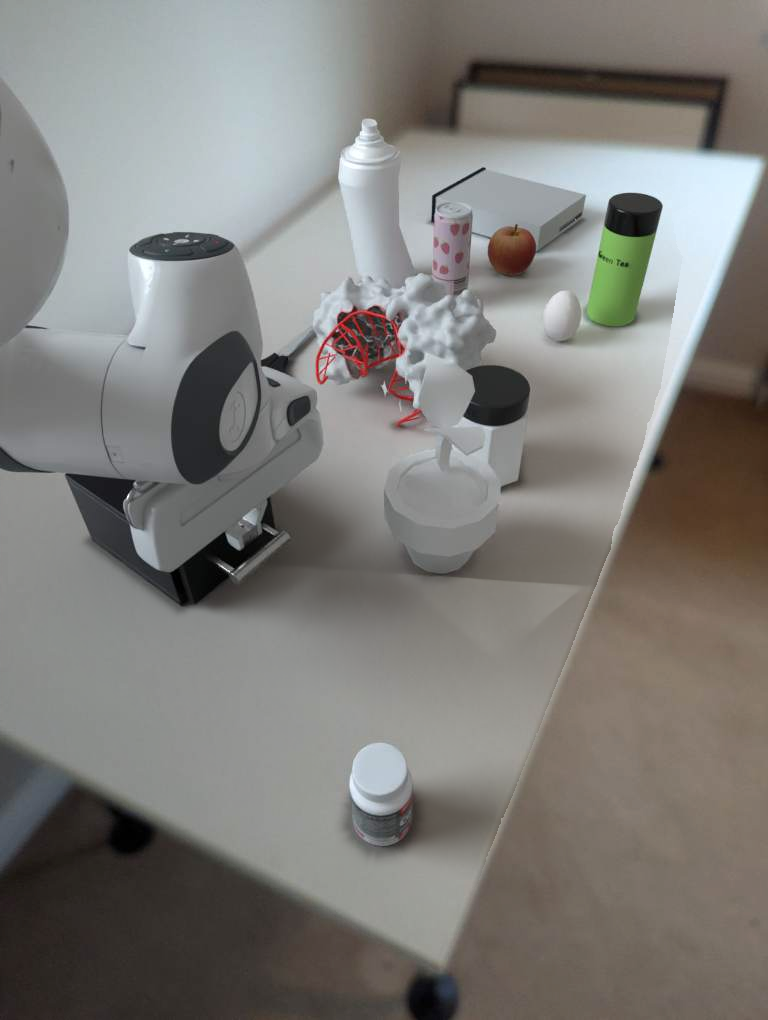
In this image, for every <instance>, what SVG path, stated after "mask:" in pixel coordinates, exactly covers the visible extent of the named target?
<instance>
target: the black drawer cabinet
mask: <svg viewBox="0 0 768 1020" xmlns="http://www.w3.org/2000/svg"><path fill="white" fill-rule="evenodd" d="M64 477H65V480H66V482H67V483H68V486H69V489H70V491H71V494H72V496H73V498H74V501H75V503H76V505H77V508H78V510H79V512H80V514H81V515H80V516H82V517H81V518H82V520H83V522H84V524H85V526H86V529H87V531H88V534H89V536H90V539H91V542H94V544H96V545H97V546H99V547H100V548H102V550H104V551H105V552H107V553H108V554H110V555H111V556H112V557H114V558H115V559H116V560H118V561H119V562H120V563H122V564H123V565H125V566H126V567H127V568H129V569H130V570H131V571H133V572H134V573H135V574H136V575H138V576H139V577H141V578H142V579H143V580H144V581H146V582H147V583H149V584H150V585H152V586H153V587H154V588H156V589H157V590H158V591H160V592H161V593H162V594H164V595H165V596H166V597H168V598H169V599H170V600H172V601H173V602H174V603H176V604H177V605H179V606H180V607H183V606H184V605H185V604H186V603H188V602H190V601H189V600H188V599H187V596H186V592H185V589H184V586H183V584H182V581H181V578H180V575H179V572H178V569H175V570H174V571H172V572H164V571H160V570H157V569H155V568H154V567H152V566H151V565H149V564H148V563H147V562H145V561H144V560H143V559H142V558H141V557H140V556H139V555H138V554H137V552H136V549H135V546H134V542H133V538H132V533H131V528H130V524H129V521H128V519H127V517H126V514H125V511H124V508H123V502H124V500H125V499H126V498H127V496H128V494H129V492H130V491H131V490H132V489H133V488H134V486H133V483H134V482H135V481H136V480H130V479H119V478H109V477H99V476H90V475H80V474H70V473H64Z"/></svg>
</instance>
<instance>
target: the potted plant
mask: <svg viewBox="0 0 768 1020" xmlns="http://www.w3.org/2000/svg"><path fill="white" fill-rule="evenodd" d="M401 362H402V364H403V367H404V372H405V379H404V381H405V383H407V375H408V373H409V374H410V372H409V370H408V366H407V360H406V348H405V357H404V360H403V361H402V360H401ZM380 386H381V388H382V390H383V393H384V396H386V394H387V393H389V392H388V388H387V386H386V382H385V379H384V380H383V385H382V384H380ZM474 393H475V388H474V383H473V378H472V375H470V374H469V373H467V372H466V371H465V370H463V369H462V368H460V367H459V366H458V365H456V364H455V363H453V362H450V361H447V360H445V359H442V358H439V357H437V356H434V355H431V354H429V353H426V371H425V375H424V378H423V382H422V385H421V389H420V392H419V396H418V400H419V404H420V407H421V411H422V412H421V413H422V416H424V417H425V419H426V420H427V421H428V422H429V425H431V426H433V427H431V428H429V427H428V428H423V429H424V432H426V433H431V434H435V435H437V437H436V444H435V448H431V449H426V450H423V451H418V452H414V453H410V454H408V455H406V456H405V457H404V458H402V459H401V460H400V461H398V462H397V463H396V464H395V465H393V466H392V467H391V468H390V469H388V473H387V477H386V481H385V484H384V487H383V516H384V520H385V522H386V524H387V527H388V528H389V530H390V532H391V534H392V536H393V538H394V539H396V540H397V541H399V543H402V544H403V545H404V547H405V549H406V551H407V553H408V555H409V557H410V559H411V561H412V563H413V564H414V565H415V566H417V567H418V568H420V569H421V570H423V571H424V572H426V573H427V572H428V573H434V574H440V575H445V574H448V573H451V572H455V571H458V570H460V569H461V568H462V567H463V566H464V565H465V564H466V563H467V562H468V561H469V560H470V559H471V556H473V553H475V550H479V548H480V547H481V546H482V545H483V544H484V543H485V542H486V541H487V540H488V539H489V538H491V536H493V535H494V534H495V533H496V528H497V521H498V515H499V514H498V513H499V505H500V498H501V488H502V486H501V482H500V480H499V479H498V477H497V476H496V474H495V473H494V471H493V470H492V468H491V467H490V466H489V464H488V463H486V462H484V461H482V460H480V459H478V458H476V457H474V456H472V455H470V454H472V453H474V452H476V451H478V450H480V449H481V448H483V445H484V440H485V432H484V430H483V428H482V427H452V426H455V425H458V423H459V422H460V420H461V418H462V416H463V415H464V413H465V411H466V409H467V407H468V405H469V403H470V401H471V399H472V397H473V395H474ZM397 404H398V409H399V415H401V413H402V411H404V410H403V408H402V403H401V401H399V402H397ZM452 444H453V445H454V446H455V447H456V448H458V449H459V450H460V451H455V450H452Z"/></svg>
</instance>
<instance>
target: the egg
mask: <svg viewBox="0 0 768 1020" xmlns="http://www.w3.org/2000/svg"><path fill="white" fill-rule="evenodd" d="M581 320H582V308H581V303H580V300H579V298H578V296H577V295H576V294H575V293H574V292H572V290H571V291H570V290H566V289H565V290H560V291H558V292H556V293H555V294H554V295H552V297H550V299H549V301H548V303H547V304H546V305H545V307H544V310H543V315H542V327H543V329H544V332H545V333H546V335H547V336H548V337H549V338H550V339H551V340H553V341H555V342H564V341H566V340H569V339H570V338H572V337H573V336H574V334H576V332H577V331H578V329H579V327H580V324H581Z"/></svg>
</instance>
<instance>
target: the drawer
mask: <svg viewBox="0 0 768 1020" xmlns="http://www.w3.org/2000/svg"><path fill="white" fill-rule="evenodd" d="M272 506H273V505H272V499H271V496H269V497H268V498H267V506H266V509H265V511H264V514H263V517H262V520H261V521H260V523H261V528H262V533H261V534H260V535H258V536H257V537H256V538H255V539H253V540H252V541H251V542H249V543H248V544H247V545H246V546H245V547H244V548H242V549H241V550H238V549H236V548H234V547H233V546H231V545H230V544H229V542H228V540H227V536H226V533H225V532H223V533H222V534H220V535H219V536H218V537H217V538H215V539H214V540H213V541H211V542H210V543H209V544H208V545H206V546H205V547H204V548H202V549H201V550H200V551H198V552H197V553H196V554H195V555H193V556H192V557H191V558H189V559H188V560H187V561H186V562H184V563H183V564H182V565H180V566H179V567H178V568H177V569H178V572H179V575H180V578H181V581H182V584H183V586H184V589H185V592H186V596H187V599H188V600H189V601H188V602H191V603H192V604H193V605H197V604H198V603H200V602H201V601H202V600H203V599H204V598H206V597H207V596H208V595H209V594H210V593H212V592H213V591H215V589H217V588H218V587H220V586H221V585H222V584H223V583H224V582H225V581H226V580H228V579H229V578H230V580H231V582H232V583H234V584H235V585H237V586H239V585H241V584H242V583H243V582H244V581H245V580H247V579H248V578H249V577H250V576H252V574H254V573H255V572H256V571H258V570H259V569H260V568H261V567H262V566H264V565H265V564H266V563H267V562H268V561H269V560H270V559H272V558H274V556H275V555H277V553H279V552H280V551H281V550H283V548H285V547H286V546H287V545H288V544H290V542H292V541H291V539H292V537H290V535H289V533H288V532H286V531H285V530H280V531H278V530H276V525H275V518H274V513H273V507H272ZM238 521H239V520H238Z"/></svg>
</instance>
